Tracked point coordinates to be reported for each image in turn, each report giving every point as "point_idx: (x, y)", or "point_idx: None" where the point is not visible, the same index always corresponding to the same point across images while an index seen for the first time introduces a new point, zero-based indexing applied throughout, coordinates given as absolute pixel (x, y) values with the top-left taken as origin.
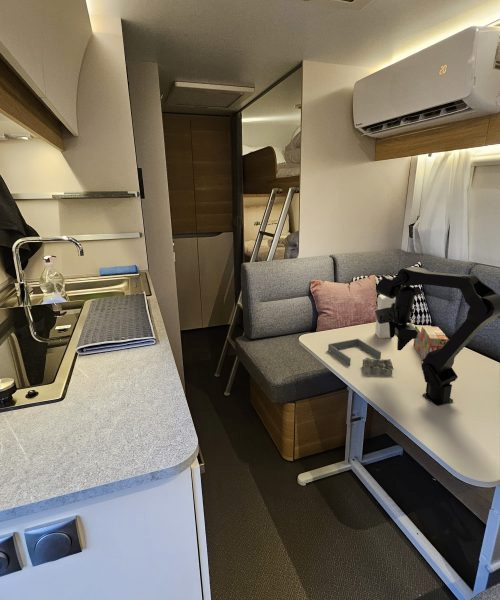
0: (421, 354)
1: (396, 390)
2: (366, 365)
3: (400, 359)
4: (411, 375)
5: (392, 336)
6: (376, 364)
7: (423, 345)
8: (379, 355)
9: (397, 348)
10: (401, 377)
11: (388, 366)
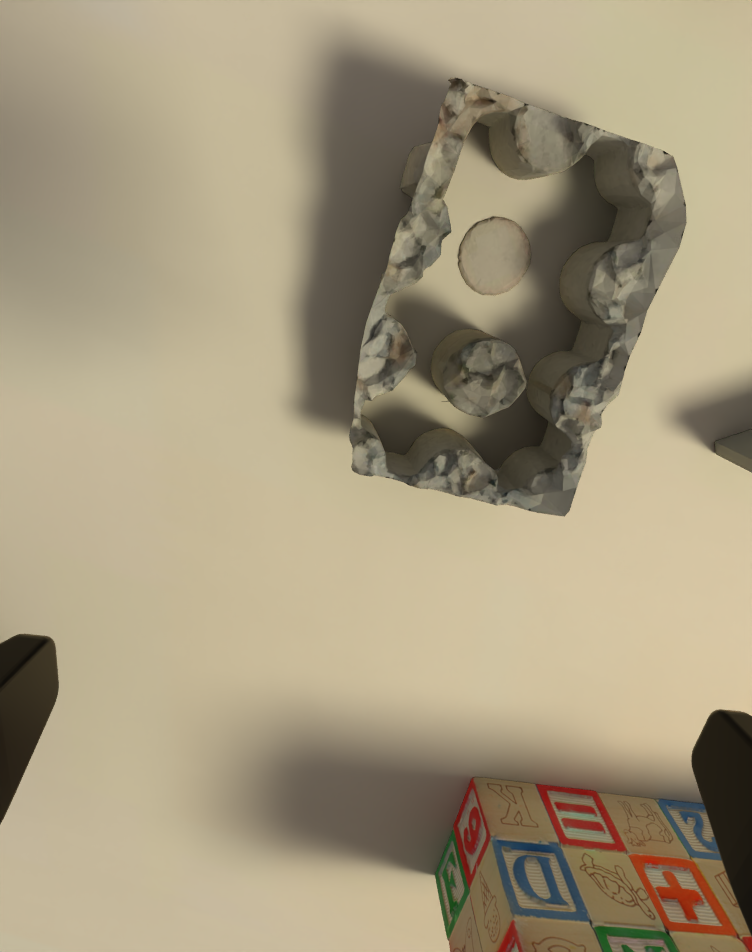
0: (653, 822)
1: (4, 350)
2: (456, 115)
3: (650, 633)
4: (330, 613)
5: (714, 772)
6: (583, 347)
7: (692, 926)
8: (748, 452)
9: (3, 655)
10: (295, 510)
11: (454, 446)
